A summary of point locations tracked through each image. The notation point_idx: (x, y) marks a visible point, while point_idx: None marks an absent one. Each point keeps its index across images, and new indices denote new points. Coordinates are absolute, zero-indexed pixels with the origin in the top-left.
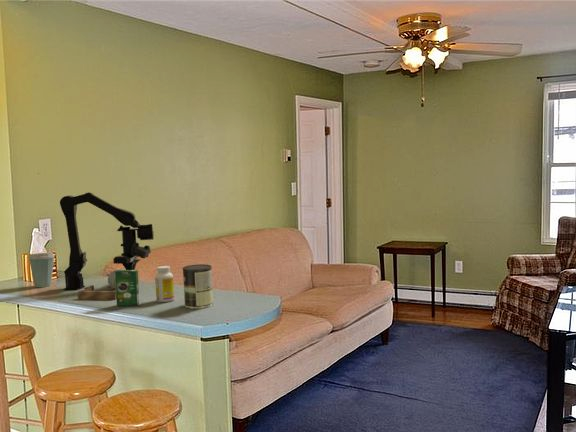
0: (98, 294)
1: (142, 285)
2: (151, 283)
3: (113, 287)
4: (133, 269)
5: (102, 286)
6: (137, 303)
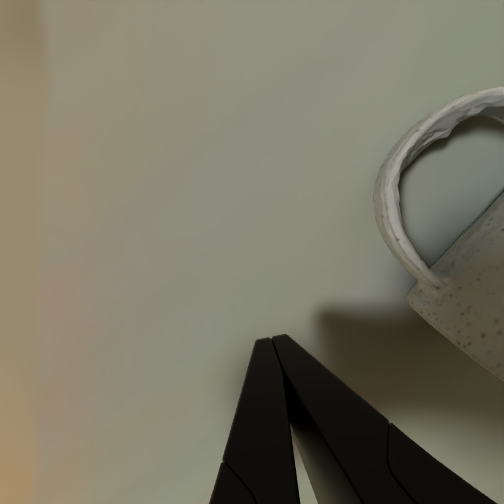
0: None
1: (277, 112)
2: (110, 48)
3: None
4: (290, 439)
5: None
6: None
